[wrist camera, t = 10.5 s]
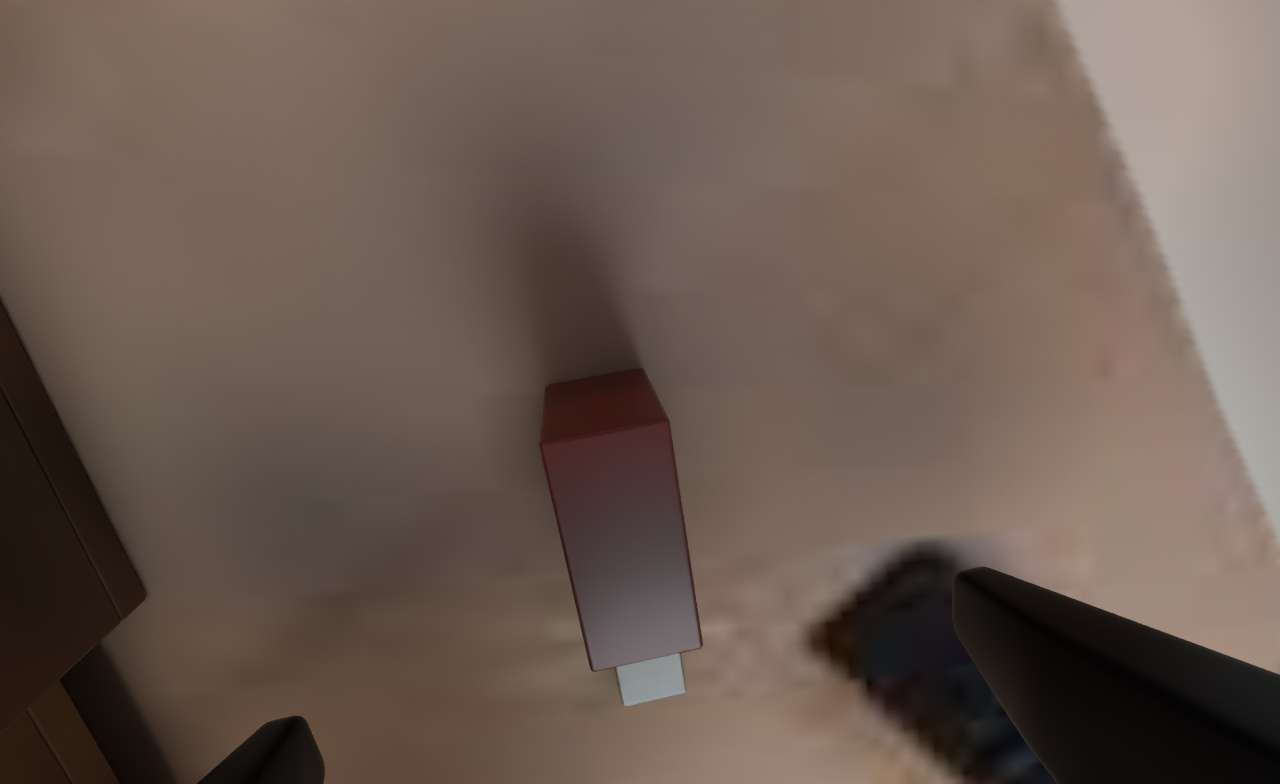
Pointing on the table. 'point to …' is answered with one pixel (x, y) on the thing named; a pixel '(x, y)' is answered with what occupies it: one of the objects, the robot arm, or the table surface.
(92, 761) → the drawer
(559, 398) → the red usb flash drive
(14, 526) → the cabinet
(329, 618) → the table surface
